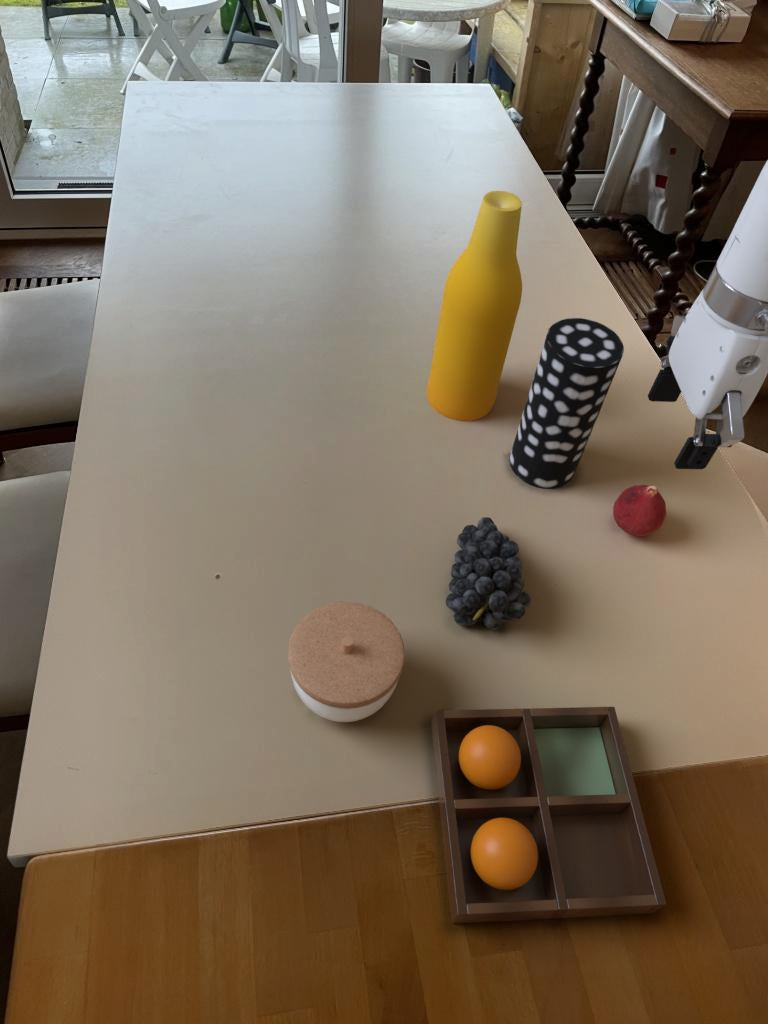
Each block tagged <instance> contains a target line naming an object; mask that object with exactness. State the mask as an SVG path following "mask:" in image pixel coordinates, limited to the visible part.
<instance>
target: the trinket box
mask: <svg viewBox="0 0 768 1024" xmlns="http://www.w3.org/2000/svg"><path fill="white" fill-rule="evenodd" d="M287 650H288V652H287V654H288V655H287V656H288V665H289V670H290V676H291V680H292V683H293V687H294V689H295V691H296V693H297V695H298V697H299V698H300V700H301V701H302V703H303V704H304V705H305V706H306V707H307V708H308V709H309V710H310V711H312V712H313V713H314V714H315V715H317V716H320V717H321V718H323V719H325V720H328V721H331V722H336V723H352V722H353V723H354V722H358V721H361V720H363V719H365V718H369V717H370V716H372V715H374V714H375V713H377V712H378V711H379V710H380V709H381V708H383V707H384V706H385V704H386V703H387V702H388V701H389V699H390V698H391V697H392V695H393V693H394V691H395V689H396V687H397V686H398V685H397V684H398V682H399V679H400V677H401V674H402V672H403V668H404V663H405V658H406V657H405V655H406V653H405V645H404V640H403V639H402V636H401V633H400V631H399V629H398V627H397V626H396V625H395V623H394V622H393V621H392V620H391V618H389V617H388V616H387V615H386V614H384V613H383V612H381V610H379V609H377V608H374V607H372V606H370V605H368V604H364V603H361V602H355V601H344V600H343V601H335V602H331V603H326V604H324V605H321V606H319V607H317V608H314V609H313V610H312V611H309V613H307V614H306V615H305V616H304V617H302V619H301V620H300V621H299V622H298V623H297V625H296V626H295V627H294V629H293V631H292V633H291V636H290V638H289V643H288V649H287Z"/></svg>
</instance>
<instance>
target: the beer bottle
mask: <svg viewBox="0 0 768 1024" xmlns="http://www.w3.org/2000/svg"><path fill="white" fill-rule="evenodd" d="M522 205H523V203H522V199H520V197H519V196H517V195H515V194H514V193H511V192H509V191H505V190H492V191H489V192H487V193H485V194H484V196H483V198H482V201H481V204H480V207H479V210H478V213H477V216H476V220H475V223H474V225H473V226H474V227H473V230H472V232H471V236H470V239H469V242H468V243H467V246H466V247H465V249H464V250H463V251H462V253H461V254H460V255H459V256H458V258H457V259H456V260H455V262H454V263H453V265H452V266H451V268H450V271H449V272H448V275H447V278H446V281H445V284H444V288H443V295H442V300H441V301H442V302H441V308H440V313H439V319H438V325H437V331H436V336H435V343H434V349H433V353H432V354H433V355H432V360H431V366H430V371H429V376H428V382H427V386H426V397H427V401H428V404H429V405H430V406H431V408H432V409H433V410H434V411H436V413H438V414H439V415H441V416H443V417H445V418H448V419H450V420H454V421H460V422H471V421H476V420H479V419H482V418H484V417H485V416H487V415H489V413H490V412H491V410H492V409H493V407H494V405H495V403H496V399H497V395H498V389H499V385H500V382H501V379H502V378H501V377H502V374H503V370H504V366H505V362H506V358H507V355H508V351H509V347H510V344H511V339H512V336H513V331H514V328H515V324H516V320H517V317H518V312H519V310H520V306H521V302H522V294H523V279H522V273H521V269H520V264H519V261H518V257H517V256H518V255H517V251H518V250H517V249H518V239H519V231H520V223H521V217H522V214H521V213H522Z"/></svg>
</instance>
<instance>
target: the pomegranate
mask: <svg viewBox="0 0 768 1024" xmlns="http://www.w3.org/2000/svg"><path fill="white" fill-rule="evenodd" d="M612 510H613V511H612V517H613V519H614V521H615V523H616V525H617V526H618V527H619V528H620V529H621V530H622V531H624V532H625V533H627V534H629V535H631V536H636V537H645V536H649V535H651V534H654V533H655V532H657V531H658V530H660V528H661V527H662V526H663V524H664V522H665V520H666V518H667V503H666V501H665V499H664V497H663V495H662V494H661V493H660V492H659V489H658V487H657V486H656V485H655V484H654V485H648V484H637V485H632V486H630V487H628V488H625V489H624V490H622V491H621V493H620V494H619V495H618V497H617V498H616V500H615V501H614V504H613V508H612Z"/></svg>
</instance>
